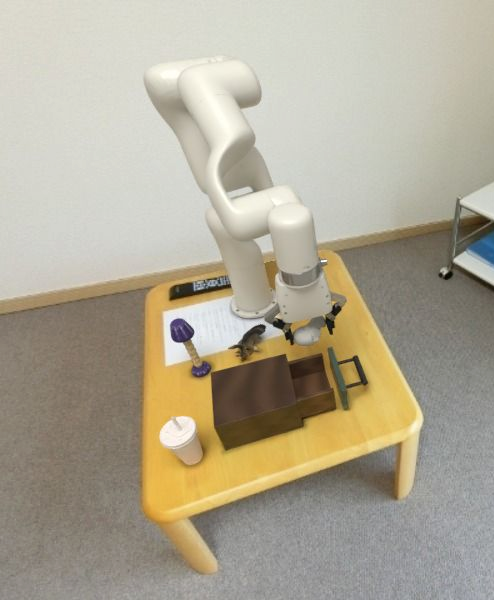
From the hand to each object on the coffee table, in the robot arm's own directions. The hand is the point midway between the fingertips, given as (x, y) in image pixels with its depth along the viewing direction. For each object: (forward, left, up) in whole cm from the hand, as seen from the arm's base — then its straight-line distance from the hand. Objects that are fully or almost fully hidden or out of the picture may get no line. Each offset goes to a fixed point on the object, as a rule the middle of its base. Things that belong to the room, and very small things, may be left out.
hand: (310, 335), depth 90 cm
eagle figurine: (-15, -14, -15) cm, 25 cm away
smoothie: (+10, -28, -15) cm, 33 cm away
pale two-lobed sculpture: (0, 0, -1) cm, 1 cm away
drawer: (+4, 0, -14) cm, 15 cm away
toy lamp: (-12, -26, -15) cm, 32 cm away
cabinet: (+4, -14, -15) cm, 21 cm away
